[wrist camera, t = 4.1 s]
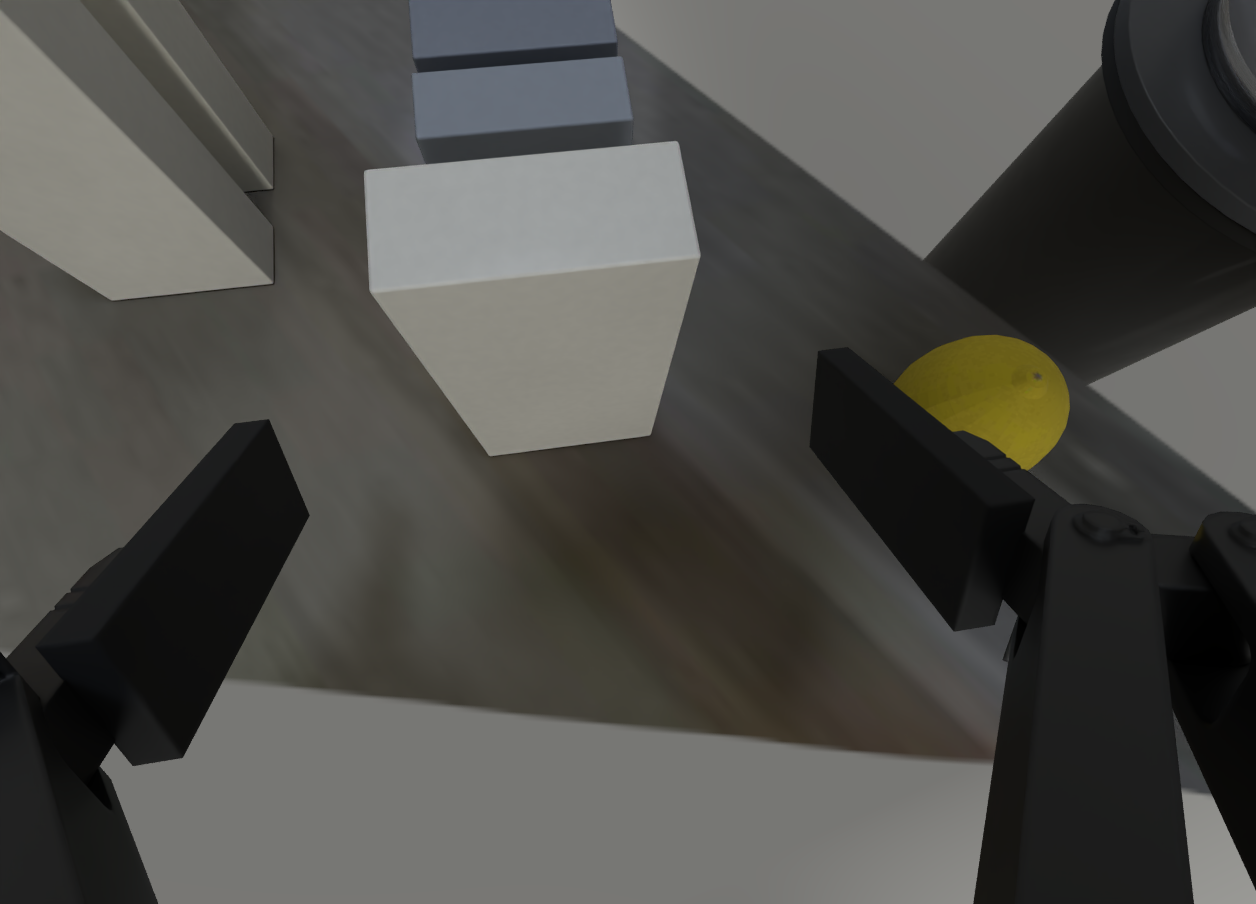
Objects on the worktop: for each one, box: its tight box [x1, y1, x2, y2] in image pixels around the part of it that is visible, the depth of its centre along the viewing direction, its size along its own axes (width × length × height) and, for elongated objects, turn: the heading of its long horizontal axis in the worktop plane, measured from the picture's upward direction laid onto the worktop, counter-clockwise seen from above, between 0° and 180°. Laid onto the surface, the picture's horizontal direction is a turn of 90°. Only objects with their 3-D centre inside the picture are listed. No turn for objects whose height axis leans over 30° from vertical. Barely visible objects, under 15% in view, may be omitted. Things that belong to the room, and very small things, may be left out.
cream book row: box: [0, 0, 274, 301], centre depth 22 cm, size 8×7×14 cm
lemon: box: [894, 335, 1070, 470], centre depth 23 cm, size 6×6×8 cm
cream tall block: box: [364, 141, 701, 456], centre depth 20 cm, size 3×7×14 cm, turn 98°
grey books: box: [409, 0, 634, 164], centre depth 25 cm, size 10×7×9 cm
